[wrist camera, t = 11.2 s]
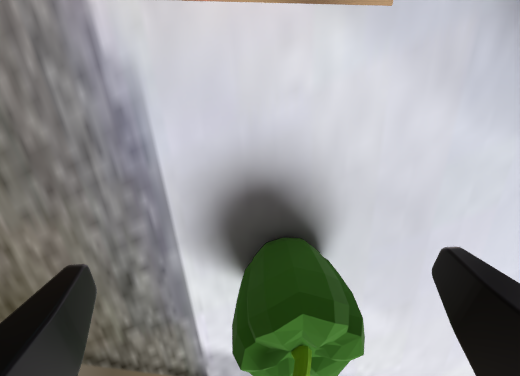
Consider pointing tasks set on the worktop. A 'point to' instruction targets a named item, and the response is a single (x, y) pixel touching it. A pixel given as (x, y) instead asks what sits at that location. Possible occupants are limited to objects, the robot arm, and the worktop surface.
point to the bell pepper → (295, 314)
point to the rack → (316, 1)
